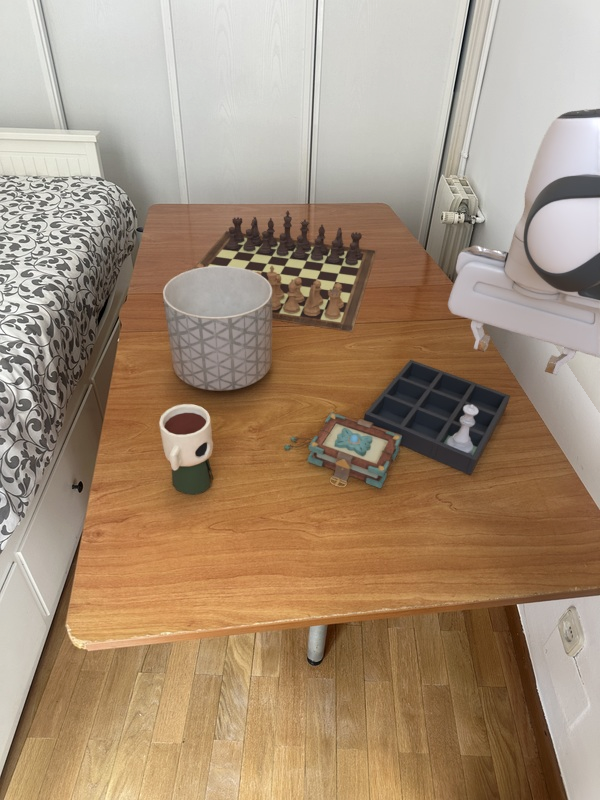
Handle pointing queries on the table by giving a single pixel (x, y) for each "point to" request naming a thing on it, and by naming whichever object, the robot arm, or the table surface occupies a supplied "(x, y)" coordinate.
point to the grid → (437, 413)
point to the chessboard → (300, 272)
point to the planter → (219, 326)
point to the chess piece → (464, 431)
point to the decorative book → (353, 449)
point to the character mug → (188, 446)
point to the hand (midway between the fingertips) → (514, 359)
